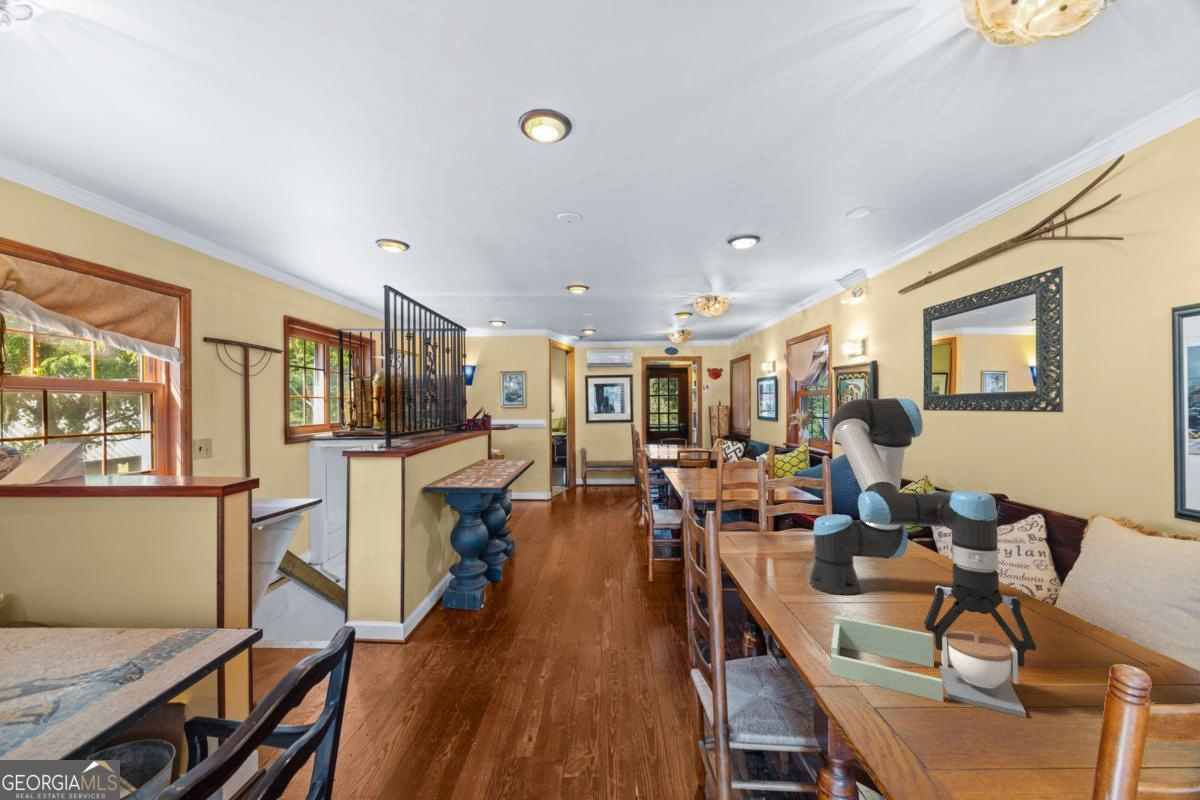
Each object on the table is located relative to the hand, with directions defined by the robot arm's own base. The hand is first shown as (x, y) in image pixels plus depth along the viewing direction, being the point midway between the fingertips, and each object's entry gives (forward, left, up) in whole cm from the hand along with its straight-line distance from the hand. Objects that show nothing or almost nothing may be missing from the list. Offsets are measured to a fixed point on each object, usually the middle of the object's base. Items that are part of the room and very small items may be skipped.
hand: (978, 672), depth 96 cm
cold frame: (0, -17, -4) cm, 18 cm away
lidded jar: (0, 0, -2) cm, 2 cm away
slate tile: (0, 0, -4) cm, 4 cm away
